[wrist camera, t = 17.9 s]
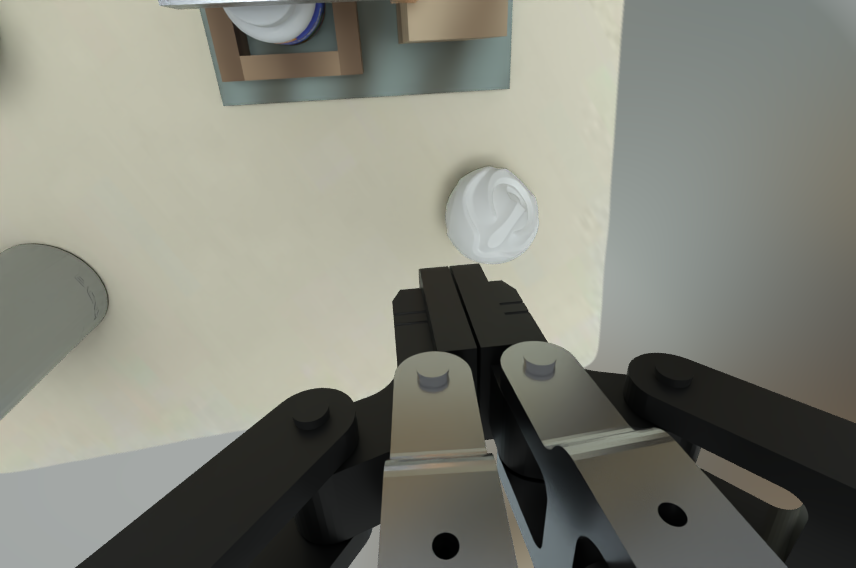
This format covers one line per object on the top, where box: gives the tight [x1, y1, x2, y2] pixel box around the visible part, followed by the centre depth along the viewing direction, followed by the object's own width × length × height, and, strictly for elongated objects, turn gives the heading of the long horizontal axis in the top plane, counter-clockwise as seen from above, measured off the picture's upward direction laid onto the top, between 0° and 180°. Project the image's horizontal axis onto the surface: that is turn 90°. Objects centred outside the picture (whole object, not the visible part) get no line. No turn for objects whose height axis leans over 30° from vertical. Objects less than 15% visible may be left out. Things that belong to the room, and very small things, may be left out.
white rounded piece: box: [445, 166, 539, 264], centre depth 37 cm, size 8×8×8 cm
